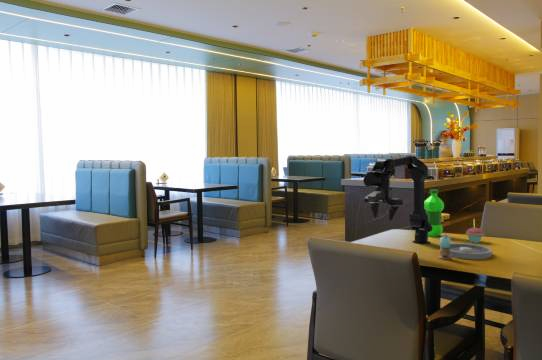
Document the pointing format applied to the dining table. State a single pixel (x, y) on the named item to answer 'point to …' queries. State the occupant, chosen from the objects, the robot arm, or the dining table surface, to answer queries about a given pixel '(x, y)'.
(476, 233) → the cupcake
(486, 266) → the dining table surface
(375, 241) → the dining table surface
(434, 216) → the plastic bottle
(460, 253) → the groove tray
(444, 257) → the bead stack
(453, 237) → the dining table surface
